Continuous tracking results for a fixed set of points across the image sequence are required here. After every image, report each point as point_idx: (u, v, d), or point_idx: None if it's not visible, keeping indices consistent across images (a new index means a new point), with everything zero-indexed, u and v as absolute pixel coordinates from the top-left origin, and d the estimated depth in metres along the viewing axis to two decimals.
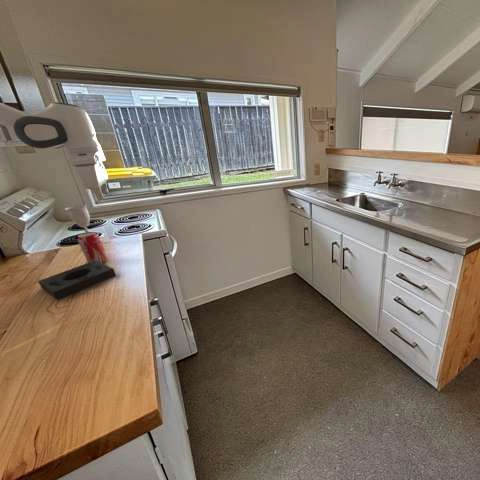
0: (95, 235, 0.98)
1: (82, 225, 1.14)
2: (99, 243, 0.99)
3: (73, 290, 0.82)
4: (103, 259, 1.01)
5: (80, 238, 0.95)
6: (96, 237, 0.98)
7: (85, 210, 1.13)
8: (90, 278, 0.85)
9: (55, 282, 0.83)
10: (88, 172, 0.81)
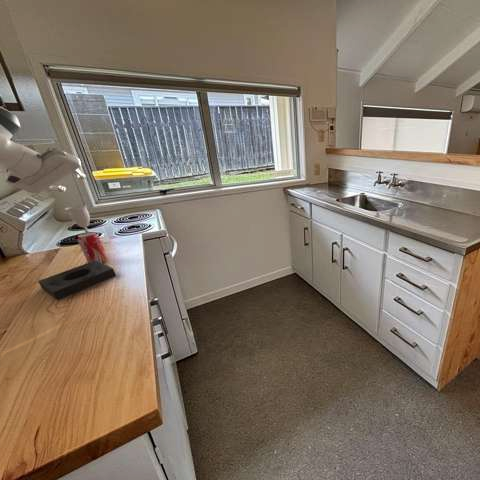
0: (95, 235, 0.98)
1: (82, 225, 1.14)
2: (99, 243, 0.99)
3: (73, 290, 0.82)
4: (103, 259, 1.01)
5: (80, 238, 0.95)
6: (96, 237, 0.98)
7: (85, 210, 1.13)
8: (90, 278, 0.85)
9: (55, 282, 0.83)
10: None
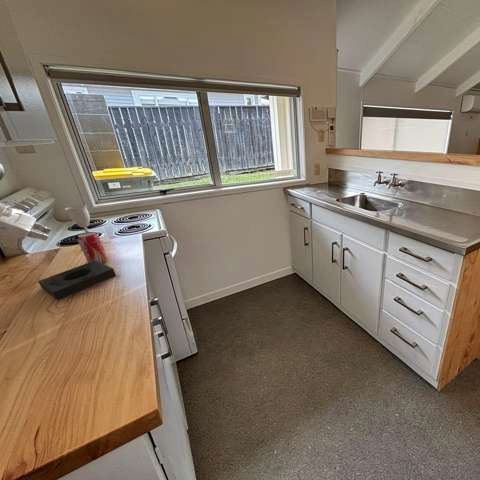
0: (95, 235, 0.98)
1: (82, 225, 1.14)
2: (99, 243, 0.99)
3: (73, 290, 0.82)
4: (103, 259, 1.01)
5: (80, 238, 0.95)
6: (96, 237, 0.98)
7: (85, 210, 1.13)
8: (90, 278, 0.85)
9: (55, 282, 0.83)
10: None
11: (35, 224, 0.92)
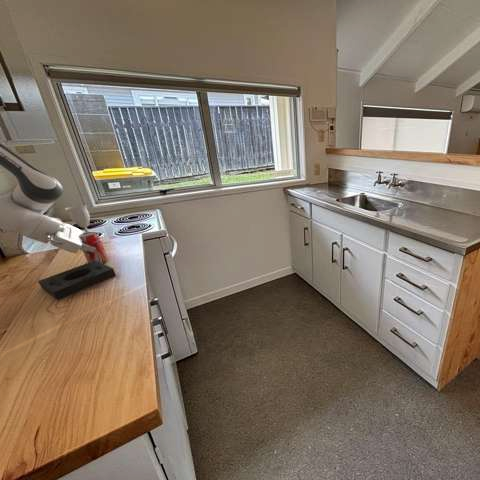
0: (95, 235, 0.98)
1: (82, 225, 1.14)
2: (99, 243, 0.99)
3: (73, 290, 0.82)
4: (103, 259, 1.01)
5: None
6: (96, 237, 0.98)
7: (85, 210, 1.13)
8: (90, 278, 0.85)
9: (55, 282, 0.83)
10: None
11: None
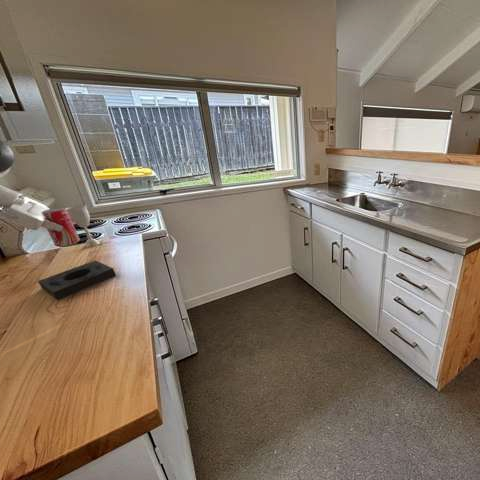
0: (63, 211, 0.82)
1: (82, 225, 1.14)
2: (68, 221, 0.83)
3: (73, 290, 0.82)
4: (73, 240, 0.85)
5: None
6: (64, 213, 0.82)
7: (85, 210, 1.13)
8: (90, 278, 0.85)
9: (55, 282, 0.83)
10: None
11: None
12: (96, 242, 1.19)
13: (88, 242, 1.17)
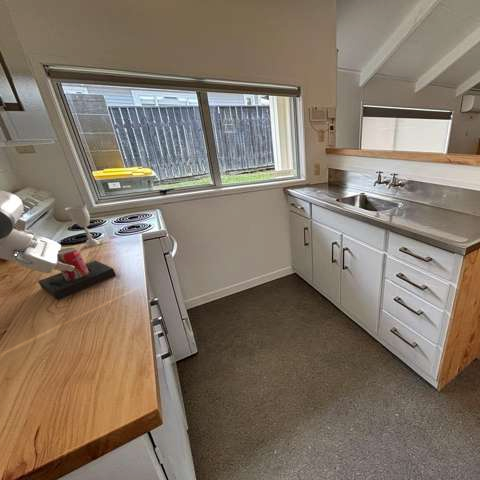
0: (75, 252, 0.84)
1: (82, 225, 1.14)
2: (80, 261, 0.85)
3: (73, 290, 0.82)
4: None
5: None
6: (76, 254, 0.84)
7: (85, 210, 1.13)
8: (90, 278, 0.85)
9: (55, 282, 0.83)
10: None
11: None
12: (96, 242, 1.19)
13: (88, 242, 1.17)
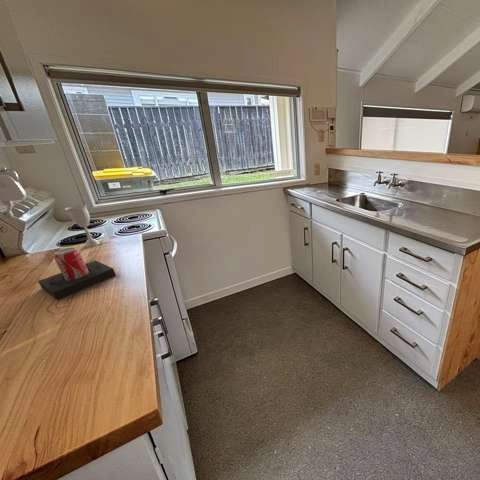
0: (75, 252, 0.84)
1: (82, 225, 1.14)
2: (80, 261, 0.85)
3: (73, 290, 0.82)
4: None
5: (57, 256, 0.81)
6: (76, 254, 0.84)
7: (85, 210, 1.13)
8: (90, 278, 0.85)
9: (55, 282, 0.83)
10: None
11: None
12: (96, 242, 1.19)
13: (88, 242, 1.17)
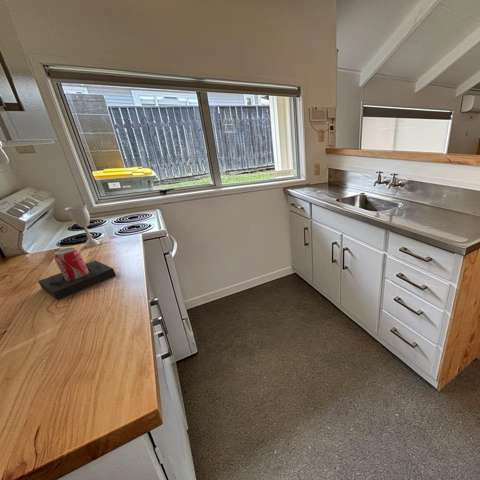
0: (75, 252, 0.84)
1: (82, 225, 1.14)
2: (80, 261, 0.85)
3: (73, 290, 0.82)
4: None
5: (57, 256, 0.81)
6: (76, 254, 0.84)
7: (85, 210, 1.13)
8: (90, 278, 0.85)
9: (55, 282, 0.83)
10: None
11: None
12: (96, 242, 1.19)
13: (88, 242, 1.17)
